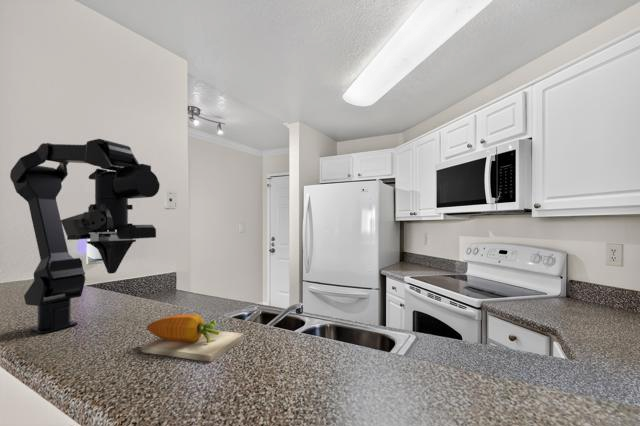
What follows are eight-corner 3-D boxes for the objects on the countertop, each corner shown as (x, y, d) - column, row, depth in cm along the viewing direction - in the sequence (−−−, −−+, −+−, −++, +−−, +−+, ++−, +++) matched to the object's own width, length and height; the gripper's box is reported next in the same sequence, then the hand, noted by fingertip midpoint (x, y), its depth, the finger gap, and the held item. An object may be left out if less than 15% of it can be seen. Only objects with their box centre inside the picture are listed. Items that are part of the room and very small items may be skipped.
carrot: (159, 328, 60) (226, 329, 57) (142, 346, 56) (213, 349, 53) (152, 308, 58) (220, 308, 55) (133, 325, 54) (206, 327, 51)
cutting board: (141, 352, 53) (141, 346, 53) (183, 332, 62) (183, 327, 62) (210, 361, 48) (210, 355, 48) (244, 338, 58) (244, 333, 58)
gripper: (37, 199, 58) (36, 279, 57) (105, 194, 52) (105, 282, 52) (95, 203, 69) (95, 270, 68) (157, 198, 63) (158, 272, 62)
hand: (111, 273), depth 62 cm, fingers closed
